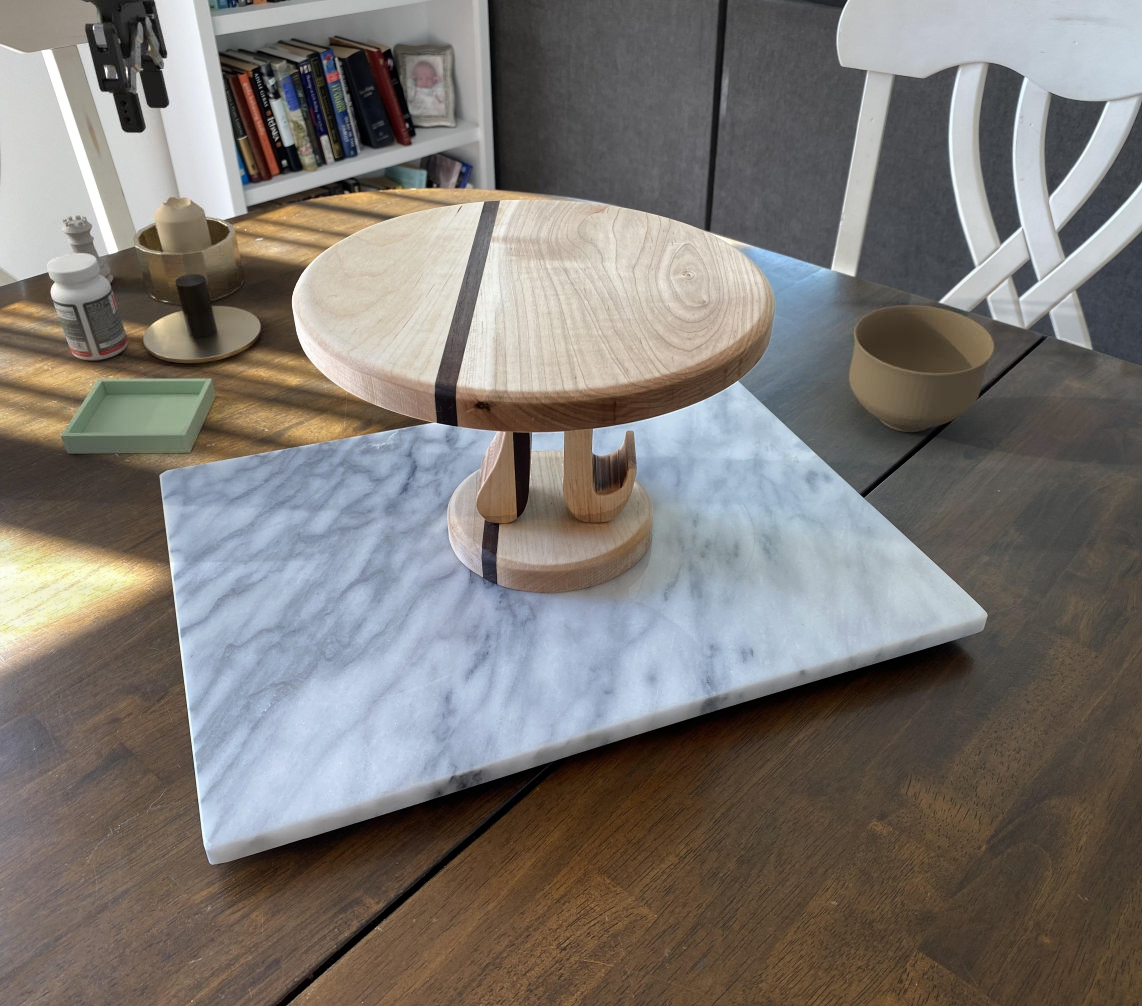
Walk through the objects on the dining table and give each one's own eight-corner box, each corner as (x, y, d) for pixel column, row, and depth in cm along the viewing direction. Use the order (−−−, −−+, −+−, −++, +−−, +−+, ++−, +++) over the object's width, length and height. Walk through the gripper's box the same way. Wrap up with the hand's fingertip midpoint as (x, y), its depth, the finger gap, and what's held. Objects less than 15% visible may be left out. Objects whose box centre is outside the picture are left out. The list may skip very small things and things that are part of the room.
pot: (134, 305, 109) (119, 253, 105) (162, 264, 117) (149, 215, 113) (232, 305, 109) (221, 254, 105) (252, 265, 118) (243, 216, 114)
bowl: (809, 405, 96) (828, 316, 89) (902, 378, 100) (927, 292, 94) (895, 471, 87) (923, 378, 81) (992, 438, 92) (1026, 348, 86)
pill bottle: (128, 333, 103) (103, 247, 97) (129, 357, 99) (103, 269, 93) (72, 340, 102) (42, 254, 96) (70, 366, 98) (39, 277, 91)
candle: (181, 296, 110) (161, 213, 104) (164, 279, 113) (143, 198, 107) (226, 284, 113) (209, 202, 107) (208, 268, 116) (190, 188, 110)
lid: (130, 368, 98) (111, 306, 93) (163, 314, 107) (148, 255, 103) (249, 368, 98) (236, 306, 94) (272, 314, 108) (261, 256, 103)
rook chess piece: (107, 272, 115) (88, 209, 110) (119, 285, 112) (100, 221, 107) (69, 282, 113) (48, 217, 108) (81, 295, 110) (60, 230, 105)
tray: (67, 453, 85) (60, 435, 84) (104, 395, 93) (98, 378, 92) (190, 453, 86) (185, 435, 85) (216, 395, 94) (212, 378, 93)
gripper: (89, -70, 94) (132, 99, 104) (33, -48, 83) (87, 140, 93) (165, -68, 94) (200, 100, 104) (120, -46, 83) (164, 141, 93)
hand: (147, 119), depth 99 cm, fingers open, 8 cm apart
